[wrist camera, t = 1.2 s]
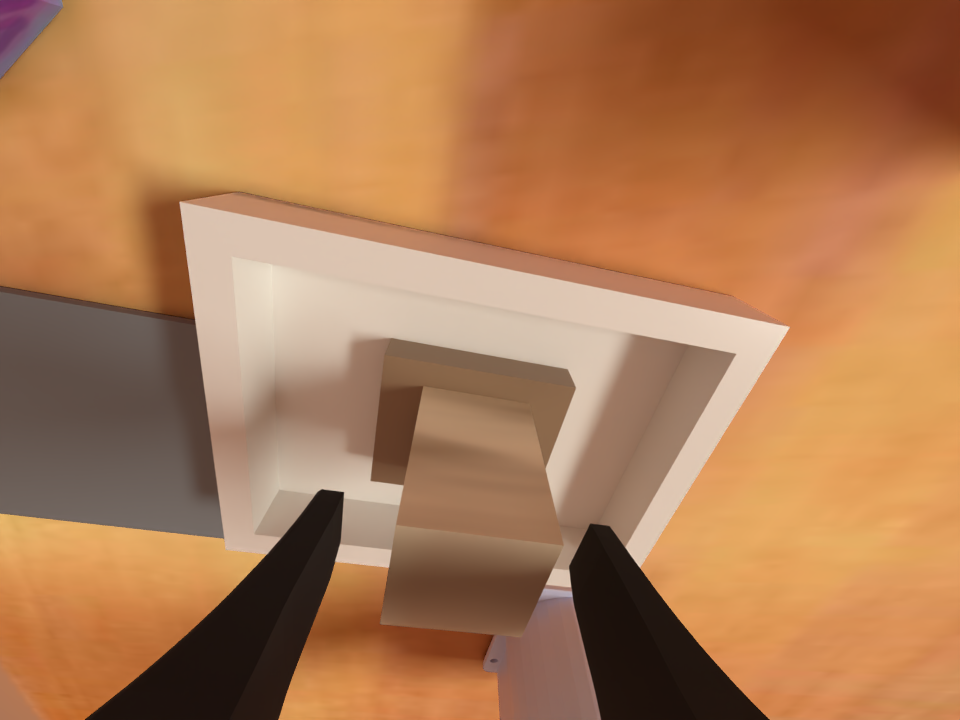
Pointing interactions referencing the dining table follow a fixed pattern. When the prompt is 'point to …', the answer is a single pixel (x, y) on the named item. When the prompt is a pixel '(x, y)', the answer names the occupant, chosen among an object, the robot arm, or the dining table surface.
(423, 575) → the maple block
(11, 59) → the lantern
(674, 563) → the dining table surface
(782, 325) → the tray
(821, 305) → the dining table surface
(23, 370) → the rubber mat
